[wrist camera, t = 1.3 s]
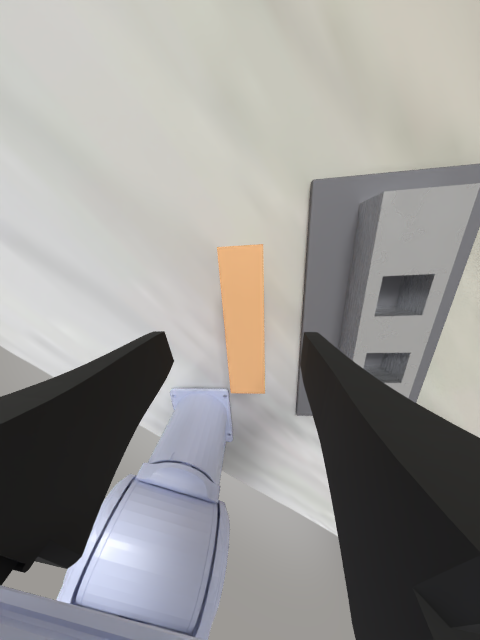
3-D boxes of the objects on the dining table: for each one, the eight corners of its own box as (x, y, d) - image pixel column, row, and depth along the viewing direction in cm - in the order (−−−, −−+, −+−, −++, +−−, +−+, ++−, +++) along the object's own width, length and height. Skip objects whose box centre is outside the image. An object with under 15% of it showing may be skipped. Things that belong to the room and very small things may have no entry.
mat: (406, 413, 23) (410, 417, 22) (296, 411, 24) (297, 415, 24) (493, 165, 14) (503, 161, 13) (311, 182, 15) (313, 179, 15)
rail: (380, 404, 22) (398, 426, 19) (330, 404, 22) (340, 425, 20) (437, 197, 14) (481, 183, 12) (359, 203, 15) (384, 191, 12)
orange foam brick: (261, 354, 21) (264, 393, 15) (237, 354, 22) (230, 393, 16) (259, 248, 17) (263, 244, 11) (229, 250, 18) (217, 247, 12)
